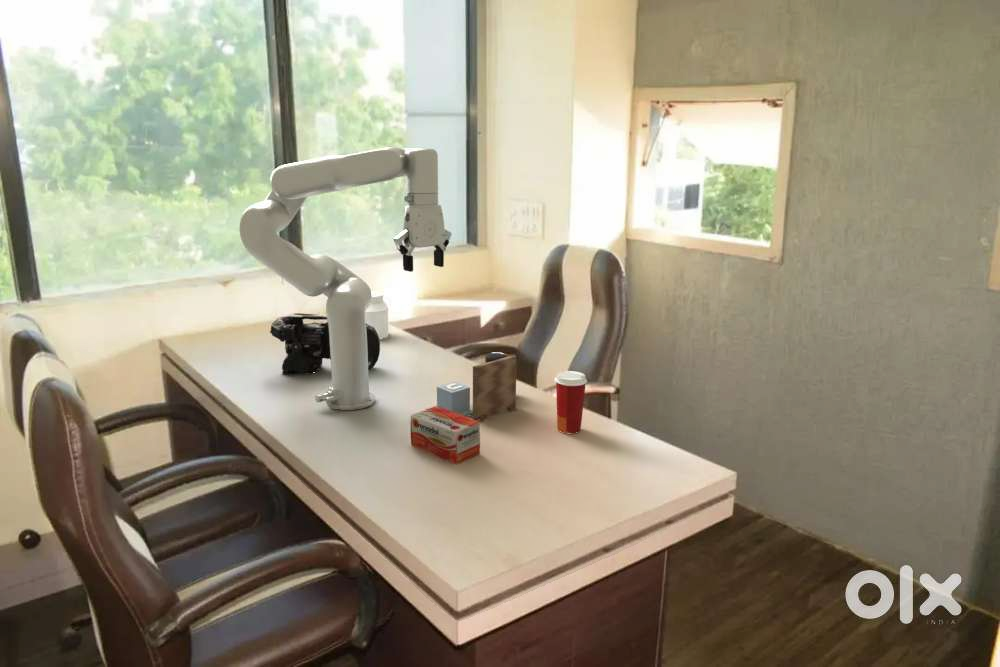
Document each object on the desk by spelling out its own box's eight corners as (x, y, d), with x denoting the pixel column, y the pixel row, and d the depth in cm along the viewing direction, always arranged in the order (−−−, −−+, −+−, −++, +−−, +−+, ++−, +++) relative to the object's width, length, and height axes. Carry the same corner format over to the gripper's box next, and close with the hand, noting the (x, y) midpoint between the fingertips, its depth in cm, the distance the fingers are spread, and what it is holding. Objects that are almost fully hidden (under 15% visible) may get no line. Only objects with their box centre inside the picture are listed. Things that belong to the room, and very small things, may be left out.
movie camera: (266, 380, 217) (265, 319, 213) (278, 364, 235) (277, 307, 231) (377, 382, 220) (378, 323, 217) (381, 366, 238) (382, 310, 234)
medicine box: (409, 446, 177) (409, 413, 175) (435, 436, 183) (435, 404, 181) (456, 466, 167) (456, 431, 165) (481, 454, 173) (482, 421, 171)
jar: (351, 334, 267) (350, 292, 263) (376, 330, 273) (374, 289, 268) (367, 342, 258) (366, 298, 254) (392, 337, 264) (391, 295, 260)
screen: (479, 422, 191) (479, 368, 187) (468, 417, 194) (469, 364, 190) (519, 408, 200) (520, 357, 197) (508, 404, 203) (509, 354, 199)
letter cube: (451, 415, 194) (451, 392, 192) (437, 408, 198) (436, 386, 196) (469, 409, 198) (469, 386, 196) (454, 403, 202) (454, 381, 200)
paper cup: (587, 426, 189) (590, 372, 186) (580, 437, 182) (583, 382, 179) (557, 421, 192) (559, 368, 188) (548, 433, 185) (550, 378, 181)
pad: (451, 421, 191) (451, 419, 191) (426, 410, 198) (426, 408, 198) (480, 411, 198) (480, 409, 198) (455, 401, 205) (455, 399, 205)
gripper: (403, 203, 180) (405, 275, 185) (459, 199, 192) (459, 266, 196) (384, 200, 185) (386, 270, 190) (440, 196, 197) (440, 262, 201)
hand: (423, 268), depth 193 cm, fingers open, 9 cm apart
